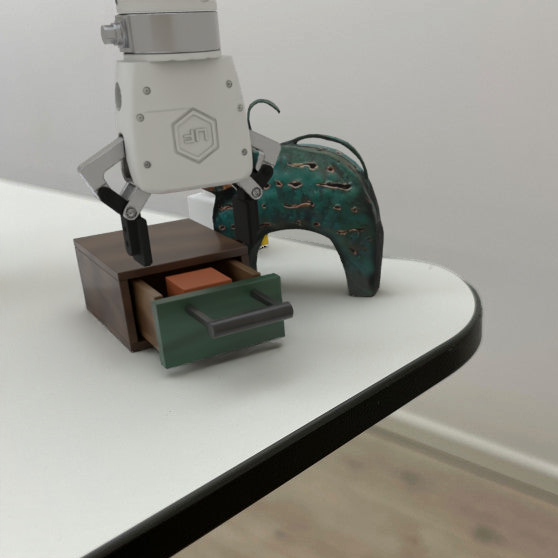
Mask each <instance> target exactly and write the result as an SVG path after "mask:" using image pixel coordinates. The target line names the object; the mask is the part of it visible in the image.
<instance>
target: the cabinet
mask: <svg viewBox="0 0 558 558" xmlns="http://www.w3.org/2000/svg"><path fill="white" fill-rule="evenodd" d="M147 226H148V233H149V240H150V247H151V253H152V260H153V263H152V264H151V266H146V267H144V266H142V265H141V264H139V263H138V262H137V261H135V260H134V259H133V256H129V255H128V254H127V251H126V248H125V242H124V236H123V230H122V229H119V230H114V231H108V232H102V233H98V234H92V235H87V236H82V237H81V236H80V237H75V238H72V242H73V246H74V252H75V257H76V261H77V267H78V272H79V277H80V282H81V286H82V287H81V288H82V292H83V297H84V301H85V308H86V309H87V310H88V311H89V312H90V314H92V315H93V316H94V317H95V318H96V319H97V320H98V321H99V322H100V323H101V324H102V325H103V326H104V327H105V328H106V329H107V330H108V331H109V332H110V333H111V334H112V335H113V336H114V337H115V338H116V339H117V340H118V341H119V342H120V343H121V344H122V345H123V346H124V347H125V348H127V350H128V351H130V352H131V353H135V352H139V351H143V350H145V349H149V348H153V347H154V346H153V345H152V344H151V343H150V342H149V341H148V340H146V339H145V338H144V337H143V336H142V335H141V334H140V333H139V332H138V331H136V326H135V320H134V314H133V309H132V303H131V297H130V291H129V285H128V279H133V278H138V277H143V276H147V275H152V274H157V273H162V272H166V271H171V270H176V269H180V268H185V267H190V266H195V265H199V264H204V263H209V262H213V261H218V260H223V259H228V258H233V259H235V260H237V261H239V262H241V263H243V264H244V265H246V266H248V267H250V266H249V256H248V247H247V246H245V245H243V244H241V243H239V242H237V241H235V240H233V239H231V238H229V237H227V236H225V235H223V234H221V233H219V232H217V231H214V230H212V229H210V228H208V227H206V226H204V225H202V224H200V223H198V222H196V221H194V220H192V219H190V217H186V218H181V219H176V220H171V221H164V222H159V223H153V224H149V225H148V224H147ZM154 348H155V347H154Z"/></svg>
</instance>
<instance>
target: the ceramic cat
mask: <svg viewBox="0 0 558 558" xmlns="http://www.w3.org/2000/svg"><path fill="white" fill-rule="evenodd" d="M257 104H266V105H268V106H270V107H271V108H272V109H274V110H275V111H276V112H277V113H278V114H280V113H281V110H280V108H279V106H278V105H276V103H275V102H273V101H271V100H270V99H267V98H257V99H255V100H254V101H252V102H251V103H250V104H249V106H248V107H247V111H246V116H247V122H248V128H249V129H250V130H252V131H253V129H252V126H251V121H250V117H251V116H250V115H251V110H252V109H253V107H254V106H256V105H257ZM306 139H321V140H325V141H328V142H333V143H337V144H340V145H342V146H343V147H344V148H346V149H347V150H349V151H350V152H351V153H352V154H353V155H354V156H355V157H356V158H357V160H358V161H359V162H360V165H361V166H360V165H359V164H358V163H357V162H356V161H355V160H354V159H353V158H351V157H350V156H348V155H347V154H346V153H344V151H343V152H342V151H341V150H339V149H337V148H333V147H329V146H325V145H322V144H314V143H298V142H301V141H303V140H306ZM279 143H280V145H281V150H280V153H279V156H278V159H277V162H276V164H275V166H274V168H273V170H274V173H273V176H272V177H271V179H270V180H269V181H268V183H267V184H266V186H265V187H264V188H263V190H262V191H263V193H262V196H261V197H260V198H259V199H257V201H258V213H259V225H260V230H259V232H257V240H258V243H257V245H252V246H251V245H249V244H247V243H245V242H243V241H241V240H239V239H237V238H236V236H235V226H234V216H233V205H232V198H233V195H237V193H236V189H235V188H234V187H233V186H232V185H231V184H227V185H221V186H214V187H208V188H202V189H203V190H205V191H208V192H210V193H213V194H214V195H215V203H214V208H213V216H212V220H213V228H214V231H217V232H219V233H221V234H223V235H225V236H227V237H229V238H231V239H233V240H235V241H237V242H239V243H241V244H243V245H245V246H247V247H248V256H249V266H250V268H252V269H254V270H256V271H258V256H259V255H258V254H259V251H260V249H261V248H260V246H261V243H262V241H263V239H264V237H265V235H267V234H268V235H269V234H271V233H276V232H280V231H286V230H302V231H308V232H312V233H315V234H319V235H321V236H324V237H325V238H327V239H329V240H330V242H331V243H332V245H333V247H334V249H335V251H336V253H337V254H338V256H339V260H340V262H341V264H342V267H343V270H344V273H345V278H346V286H347V292H348V295H349V296H351V297H352V296H353V297H364V298H365V297H366V298H367V297H373V296H375V294H376V293H377V291H378V290H379V289H380V288H381V287H380V286H381V275H382V265H383V258H384V257H383V255H384V243H385V242H384V241H385V231H384V226H383V223H382V218H381V212H380V210H381V209H380V206H379V202H378V198H377V196H376V193H375V190H374V187H373V184H372V182H371V180H370V178H369V173H368V169H367V166H366V164H365V161H364V158H362V157H363V156H362V155H361V154H360V153H359V152H358V150H357V149H356V148H355V147H354V146H353V145H352V144H351V143H349V142H348V141H347V140H343V139H341V138H339V137H337V136H333V135H329V134H321V133H307V134H304V135H300V136H297V137H294V138H292V139H289V140H285V141H283V142H279ZM251 149H252V160H253V166H254V165H255V164H256V163H257V161H258V156H259V152H258V150H257V149H255V148H253V147H251ZM243 154H244V153H243ZM203 190H202V191H203ZM259 248H260V249H259Z"/></svg>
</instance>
